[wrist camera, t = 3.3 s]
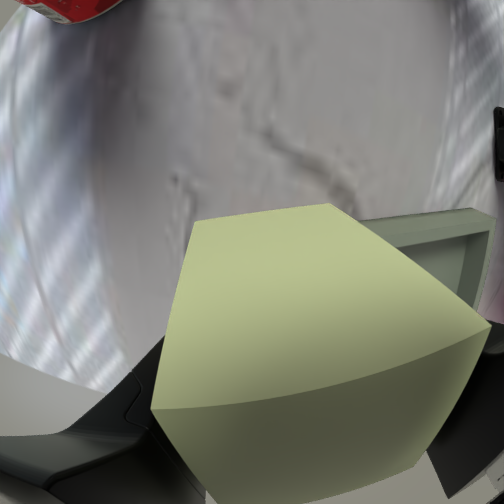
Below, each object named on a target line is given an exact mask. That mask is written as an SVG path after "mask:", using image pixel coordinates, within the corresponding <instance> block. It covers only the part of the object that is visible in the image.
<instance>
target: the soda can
mask: <svg viewBox="0 0 504 504" xmlns="http://www.w3.org/2000/svg"><path fill="white" fill-rule="evenodd" d="M16 1H17V2H19V3H21V4H23V5H25V6H27V7H29V8H31V9H33V10H35V11H36V12H38V13H40V14H42V15H44V16H46V17H47V18H49V19H51V20H53V21H55V22H57V23H61V24H76V23H81V22H85V21H88V20H91V19H93V18H95V17H97V16H100V15H101V14H103V13H105V12H107V11H108V10H110V9H112V8H113V7H115V6H116V5H117V4H119V3H120V2H121V1H122V0H16Z"/></svg>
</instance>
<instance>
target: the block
mask: <svg viewBox="0 0 504 504" xmlns="http://www.w3.org/2000/svg"><path fill="white" fill-rule="evenodd" d="M491 326H492V325H490V324H489V323H488V322H487V321H486V320H485V319H484V318H483V317H482V316H480V315H479V314H478V313H477V312H476V311H475V310H473V309H472V308H471V307H470V306H469V305H468V304H466V303H465V302H464V301H463V300H462V299H461V298H459V297H458V296H457V295H456V294H454V293H453V292H452V291H451V290H450V289H448V288H447V287H446V286H445V285H443V284H442V283H441V282H440V281H438V280H437V279H436V278H435V277H433V276H432V275H431V274H429V273H428V272H427V271H426V270H424V269H423V268H422V267H420V266H419V265H418V264H416V263H415V262H414V261H412V260H411V259H410V258H408V257H407V256H406V255H404V254H403V253H402V252H400V251H399V250H397V249H396V248H395V247H393V246H392V245H391V244H389V243H388V242H386V241H385V240H384V239H382V238H381V237H379V236H378V235H376V234H375V233H373V232H372V231H371V230H369V229H368V228H366V227H365V226H363V225H362V224H360V223H359V222H357V221H356V220H354V219H353V218H351V217H350V216H348V215H347V214H345V213H344V212H342V211H341V210H339V209H338V208H336V207H334V206H333V205H331V204H330V203H327V204H318V205H310V206H302V207H293V208H286V209H278V210H270V211H263V212H255V213H248V214H241V215H234V216H227V217H221V218H214V219H207V220H201V221H195V223H194V227H193V230H192V234H191V237H190V241H189V244H188V248H187V251H186V255H185V259H184V262H183V266H182V270H181V273H180V277H179V281H178V285H177V289H176V293H175V297H174V301H173V305H172V309H171V313H170V317H169V322H168V326H167V330H166V335H165V339H164V344H163V348H162V353H161V358H160V362H159V367H158V372H157V377H156V382H155V387H154V393H153V398H152V403H151V411H152V413H153V414H154V416H155V418H156V419H157V421H158V423H159V424H160V426H161V427H162V429H163V431H164V432H165V434H166V435H167V437H168V438H169V440H170V441H171V443H172V444H173V446H174V447H175V449H176V450H177V452H178V453H179V455H180V456H181V457H182V459H183V460H184V462H185V463H186V464H187V466H188V467H189V468H190V470H191V471H192V472H193V474H194V475H195V476H196V478H197V479H198V480H199V482H200V483H201V484H202V485H203V487H204V488H205V489H206V490H207V491H208V493H209V494H210V495H211V496H212V498H213V499H214V500H215V501H216V502H217V504H303V503H307V502H312V501H316V500H320V499H324V498H328V497H332V496H336V495H339V494H342V493H346V492H349V491H352V490H355V489H358V488H361V487H364V486H367V485H370V484H373V483H375V482H378V481H381V480H384V479H386V478H389V477H391V476H393V475H396V474H398V473H400V472H403V471H405V470H407V469H409V468H412V467H413V466H414V465H415V464H416V463H417V461H418V460H419V459H420V457H421V456H422V455H423V453H424V452H425V451H426V449H427V448H428V446H429V445H430V444H431V442H432V441H433V439H434V438H435V436H436V435H437V433H438V432H439V430H440V429H441V427H442V426H443V424H444V422H445V421H446V419H447V418H448V416H449V414H450V413H451V411H452V409H453V407H454V406H455V404H456V402H457V400H458V399H459V397H460V395H461V393H462V391H463V389H464V387H465V386H466V384H467V382H468V380H469V378H470V376H471V374H472V371H473V369H474V367H475V365H476V363H477V361H478V358H479V356H480V354H481V352H482V349H483V347H484V344H485V342H486V340H487V337H488V334H489V332H490V329H491Z"/></svg>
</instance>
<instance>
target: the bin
mask: <svg viewBox="0 0 504 504" xmlns="http://www.w3.org/2000/svg"><path fill="white" fill-rule="evenodd" d="M496 220H497V219H496V218H494V217H491V216H489V215H487V214H485V213H482V212H480V211H478V210H475V209H473V208H465V209H456V210H447V211H438V212H429V213H421V214H412V215H404V216H396V217H387V218H379V219H371V220H363V221H357V222H359V223H360V224H362V225H363V226H365V227H366V228H368V229H369V230H371V231H372V232H373V233H375V234H376V235H378V236H379V237H381V238H382V239H384V240H385V241H386V242H388V243H389V244H391V245H392V246H393V247H395V248H396V249H397V250H399V251H400V252H402V253H403V254H404V255H406V256H407V257H408V258H410V259H411V260H412V261H414V262H415V263H416V264H418V265H419V266H420V267H422V268H423V269H424V270H426V271H427V272H428V273H429V274H431V275H432V276H433V277H435V278H436V279H437V280H438V281H440V282H441V283H442V284H443V285H445V286H446V287H447V288H448V289H450V290H451V291H452V292H453V293H454V294H456V295H457V296H458V297H459V298H461V299H462V300H463V301H464V302H465V303H466V304H468V305H469V306H470V307H471V308H472V309H473V310H475V311H476V312H477V309H478V305H479V302H480V298H481V295H482V291H483V287H484V283H485V279H486V275H487V271H488V266H489V261H490V257H491V251H492V246H493V240H494V234H495V227H496Z"/></svg>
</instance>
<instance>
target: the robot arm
mask: <svg viewBox="0 0 504 504" xmlns="http://www.w3.org/2000/svg"><path fill="white" fill-rule="evenodd" d="M494 112H495V126H496V179H497V180H498V181H501V182H504V108H502V107H495V111H494ZM485 320H486V319H485ZM486 321H487V322H488V323H489V324H490V325H492V326H491V329H490V332H489V334H488V337H487V340H486V342H485V344H484V347H483V349H482V352H481V354H480V356H479V358H478V361H477V363H476V365H475V367H474V369H473V371H472V374H471V376H470V378H469V380H468V382H467V384H466V386H465V387H464V389H463V391H462V393H461V395H460V397H459V399H458V400H457V402H456V404H455V406H454V407H453V409H452V411H451V413H450V414H449V416H448V418H447V419H446V421H445V422H444V424H443V426H442V427H441V429H440V430H439V432H438V433H437V435H436V436H435V438H434V439H433V441H432V442H431V444H430V445H429V446H428V448H427V449H426V451H427V453H428V456H429V458H430V460H431V462H432V464H433V466H434V469H435V471H436V473H437V475H438V478H439V480H440V482H441V485H442V487H443V489H444V492H445V494H446V496H447V498H448V499H450V498H451V497H453V496H455V495H456V494H458V493H459V492H461V491H462V490H464V489H466V488H467V487H469V486H470V485H471V484H473V483H474V482H476V481H477V480H479V479H480V478H481V477H483V476H484V475H485V474H487V476H488V478H489V479H490V481H491V483H492V485H493V486H494V488H495V489H496V488H497V489H498V491H499V494H498V495H496V496H495V497H494V498H493V499H491V500H490V501H489V502H488V503H486V504H504V324H500V323H497V322H493V321H489V320H486ZM165 335H166V334H165ZM164 339H165V336H164V337H163V338H162V339H161V340H160V341H159V342H158V343H157V344H156V345H155V346H154V347H153V348H152V349H151V350H150V351H149V352H148V353H147V355H146V356H145V357H144V358H143V359H142V360H141V361H140V362H139V363H138V364H137V365H136V366H135V367H134V368H133V369H132V372H129V373H128V374H127V376H126V377H125V378H124V379H123V380H122V381H121V382H120V383H119V384H118V385H117V386H116V387H115V388H114V389H113V390H112V391H111V392H109V393H108V394H107V395H106V396H105V397H104V398H103V399H102V400H101V401H99V402H98V403H97V404H96V405H95V406H94V407H92V408H91V409H90V410H89V411H88V412H87V413H85V414H84V415H83V416H82V417H81V418H80V419H78V420H77V421H76V422H75V423H74V424H72V425H71V426H70V427H69V428H67V429H65V430H63V431H61V432H58V433H54V434H48V435H34V436H0V504H205V496H206V489H205V488H204V487H203V485H202V484H201V483H200V482H199V480H198V479H197V478H196V476H195V475H194V474H193V472H192V471H191V470H190V468H189V467H188V466H187V464H186V463H185V462H184V460H183V459H182V457H181V456H180V455H179V453H178V452H177V450H176V449H175V447H174V446H173V444H172V443H171V441H170V440H169V438H168V437H167V435H166V434H165V432H164V431H163V429H162V427H161V426H160V424H159V423H158V421H157V419H156V418H155V416H154V414H153V413H152V411H151V403H152V398H153V393H154V387H155V382H156V377H157V372H158V367H159V362H160V358H161V353H162V348H163V344H164Z"/></svg>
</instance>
